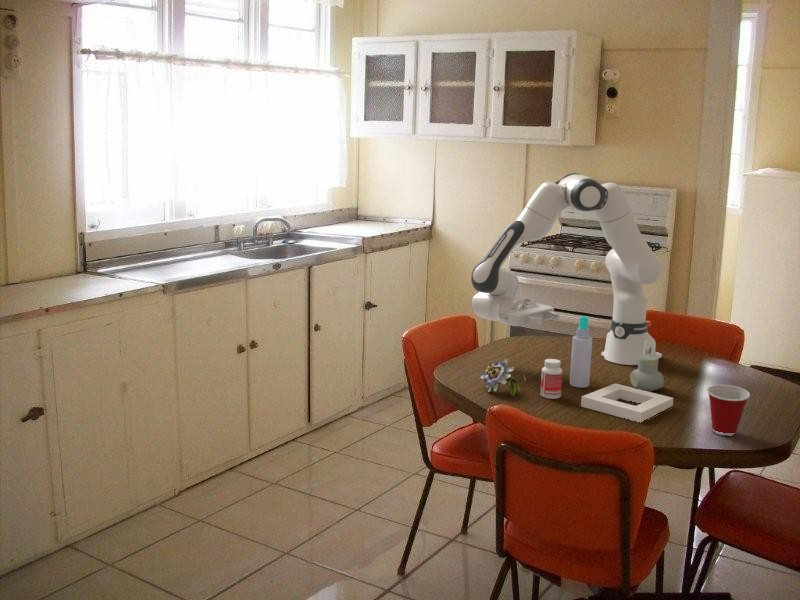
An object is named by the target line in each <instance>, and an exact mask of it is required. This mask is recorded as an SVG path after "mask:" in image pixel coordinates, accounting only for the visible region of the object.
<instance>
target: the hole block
mask: <svg viewBox="0 0 800 600" xmlns="http://www.w3.org/2000/svg"><path fill="white" fill-rule="evenodd" d="M618 400H623V401H626V402H630V401H632V403H634V402H636V403H635V404H637V405H634V404H630V403H626V402H622V401H618ZM638 403H641V404H638ZM673 405H674V397H672V396H671V397H670V396H666V395H664V394H661V393H659V394H658V393H656V392H655V393H654V392H653V391H644V390H640V389H636V388H635V387H631V386H626V385H622V384H619V383H613V384H610V385H608V386H605V387H602V388H600V389H597V390H595V391H593V392H590V393H587V394H584V395H582V396H581V401H580V407H582V408H585V409H589V410H593V411H597V412H600V413H603V414H608V415H611V416H614V417H619V418H621V419H624V418H625V420H628V419H629V421H632V422H635V421H636V423H639V422H640V423H639V424H641V422H642V423H644V422H645V421H644V420H646V419H648V420H650V419H651V418H650V417H652V416H654V415H656V414H657V413H659V412H661V411H664V410H665V409H667V408H669V407H671V406H673ZM673 407H674V406H673ZM656 416H657V415H656ZM654 417H655V416H654ZM649 418H650V419H649ZM652 418H653V417H652ZM643 421H644V422H643ZM646 421H647V420H646Z"/></svg>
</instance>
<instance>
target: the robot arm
mask: <svg viewBox="0 0 800 600" xmlns="http://www.w3.org/2000/svg"><path fill="white" fill-rule="evenodd" d="M569 207H571V208H573V209H576V210H578V211H581V212H591V211H594V212H595V213H596V216H597V219H598V223H599V225H600V227H601V230H602V232H603V235H604V237H605V241H606V242H607V243H608V244H609V246H610V247H611V249H610V250H609V251H608V252H607V254H606V256H605V260H604V263H605V267H606V269H607V271H608V273H609V275H610V276H609V277H610V280H611V286H612V292H613V293H612V294H613V305H612V307H613V308H612V309H613V310H612V318H611V320H610V331H609V332H608V333H607V334H606V340H605V345H604V350H603V351H601V353H600V355H601V356H602V357H604V360H606V361H608V362H611V363H615V364H618V365H624V366H625V365H627V366H638V362H639V357H640V356H644V355H647V356H654V357H657V358H658V360H660V359H661V358H662V357H663V353H660V352H657V351H656V349H657V348H656V345H657V344H656V343H657V342H656V340H655V338H654V337H653V336H651V334H650V333H649V332H648V327H651V325H652V320H646V319H647V318H646V317H647V309H648V308H647V307H648V299H647V298H648V297H647V296H646V294H645V292H644V290H643V285H654V284H655V283H657V282H658V281H659V280H660V279H661V278H662V276H663V272H664V265H663V262H662V261H661V259H660V258H658V257H657V255H656V253H654V252H653V250H652V249H651V247H650V246H649V245H648V243H647V241H646V239H645V237H644V236H643V234H642V233H641V232H640V229H639V227H638V225H637V221H636V218H635V217H634V214H633V210H632V208H631V206H630V203H629V201H628V199H627V197H626V195H625V192H624V191H623V190H622V188H621V187H620V186H619V185H618V184H617V183H615V182H606V183H605V182H604V183H602V184H601V183H599V182H598V181H597V180H596V179H593V178H591V177H589V176H587V175H585V174H584V175H583V174H580V173H575V172H574V173H573V172H572V173H568V174H566V175H564V176H563V177H561V178H560V179H559V180H557V181H555V182H553V181H545V182H543V183H541V184H540V185H539V186H538V188H537V189H536V190H535V191H534V192H533V194H532V196H531V197H530V198H529V200H528V202H526V205H525V207H524V208H523V209H522V211H521V213H520V214H519V215H518V216H517V218H515V219H514V220H513V221H512V222H511V223H510V224H508V225H507V227H505V229H503V231H502V233H501V234H500V235H499V236H498V238H497V240H496V241H495V242H494V244H493V245H492V246H491V248H490V249H489V251H488V252H487V253H486V255H485V256H484V258H482V260H480V261H479V262H478V263H477V264H476V265H475V266H474V267H473V269H472V272H471V275H470V276H471V278H470V279H471V280H470V281H471V284H472V286H473V289H475V290H476V291H477V292H476V294H474V295H473V297H472V299H471V308H472V310H473V313H474V314H475V315H476V316H478V317H479V318H482V319H485V320H488V321H492V322H500V323H502V324H505V325H510V326H515V327H521V326H526V325H529V324H530V325H533V324H534V325H535V324H536V325H542V324H544V321H547V320H550V319H551V320H552V321H553V320H554V321H558V320H560V318H561V317H560V316H561V315H560V314H559V313H555V308H554V307H553V306H551V305H547V304H544V303H542V302H541V303H540V302H535V300H533V299H521V298H516V296H515V295H516V293H517V290H518V287H519V279H518V276H517V274H516V273H515V272H514V271H512V270H510V269H507V268H505V267H503V265H504V263H505V262H506V260H507V259H508V258H509V257H510V255H511V254H512V252H513V251H514V249H515V248H517V246H519V245H521V244H523V243H526V242H534V241H539V240H541V239H543V238H545V237H546V236H547V235H548V233H550V231H551V230H552V228H553V226H554V225H555V222H556V221H557V219H558V217H559V215H560V214H561V213H562V211H564V210H565V209H566V208H569ZM659 358H660V359H659Z"/></svg>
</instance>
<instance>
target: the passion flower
mask: <svg viewBox="0 0 800 600" xmlns="http://www.w3.org/2000/svg"><path fill="white" fill-rule="evenodd" d="M508 363H509V360H508V359H507V358H505V359H503V361H498V362H494V363H490V364H489V365H488V366H487V367H486V369H485V371H484V373H483V374H482V375H480V376H479V377H480V379H481V380H483V381H484V383H486V384H485V389H488V390H487V393H488V392H491V393H492V392H493V391H494V392H495V393H496V392H498V390H499V389H500V385H503V386H504V385H507V386H508V390H509V394H510V395H511V396H512V397H515V396H516V388H517V391H518V393H521V391H522V386H521V383H520V382H519V380H517V379H516V377H520V376H522V378H523V382H526V376H525V373H524V374H518V375H515V376H512V374H510V373H512V372H514V371H515V370H514V369H515V367H514V366H510V367H508V366H507V365H508Z"/></svg>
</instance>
